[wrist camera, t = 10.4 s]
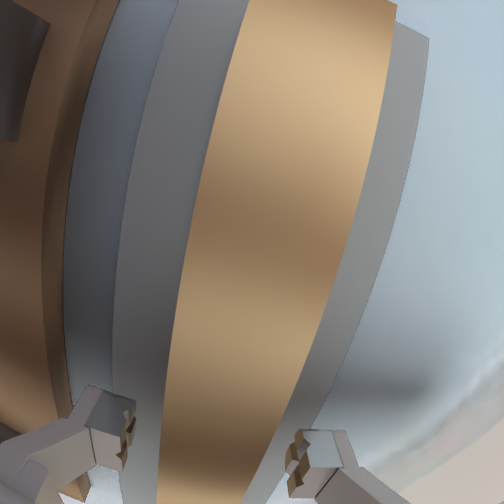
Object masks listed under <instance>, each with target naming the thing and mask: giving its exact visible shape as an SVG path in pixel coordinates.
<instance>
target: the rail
mask: <svg viewBox="0 0 504 504" xmlns="http://www.w3.org/2000/svg"><path fill="white" fill-rule="evenodd" d="M396 8H397V5H396V4H394V3H392V2H390V1H387V0H249V3H248V6H247V9H246V12H245V16H244V19H243V22H242V25H241V28H240V31H239V35H238V38H237V41H236V44H235V48H234V51H233V55H232V58H231V61H230V65H229V68H228V72H227V75H226V79H225V83H224V86H223V90H222V94H221V97H220V101H219V105H218V109H217V113H216V117H215V120H214V124H213V128H212V132H211V137H210V141H209V145H208V149H207V153H206V157H205V162H204V166H203V171H202V175H201V179H200V184H199V189H198V193H197V198H196V203H195V207H194V212H193V217H192V222H191V227H190V232H189V238H188V243H187V248H186V254H185V259H184V265H183V270H182V276H181V282H180V288H179V294H178V300H177V306H176V313H175V319H174V326H173V333H172V340H171V347H170V355H169V362H168V370H167V378H166V387H165V396H164V405H163V415H162V425H161V436H160V449H159V462H158V477H157V496H156V504H240V503H241V501H242V499H243V497H244V495H245V493H246V491H247V489H248V487H249V485H250V483H251V481H252V480H253V478H254V476H255V474H256V472H257V470H258V468H259V466H260V463H261V461H262V459H263V457H264V455H265V453H266V451H267V449H268V447H269V445H270V443H271V440H272V438H273V436H274V434H275V432H276V430H277V427H278V425H279V423H280V421H281V418H282V416H283V414H284V412H285V409H286V407H287V405H288V402H289V400H290V398H291V395H292V393H293V390H294V388H295V386H296V383H297V381H298V378H299V376H300V373H301V371H302V368H303V366H304V363H305V361H306V358H307V356H308V353H309V351H310V348H311V345H312V343H313V340H314V337H315V335H316V332H317V329H318V327H319V324H320V321H321V318H322V316H323V313H324V310H325V307H326V304H327V301H328V298H329V296H330V293H331V290H332V287H333V284H334V281H335V278H336V275H337V272H338V268H339V265H340V262H341V259H342V256H343V253H344V249H345V246H346V243H347V240H348V236H349V233H350V229H351V226H352V223H353V219H354V216H355V212H356V208H357V205H358V201H359V198H360V194H361V190H362V186H363V182H364V179H365V175H366V171H367V167H368V163H369V158H370V154H371V150H372V146H373V141H374V137H375V132H376V128H377V123H378V119H379V114H380V109H381V104H382V99H383V94H384V88H385V83H386V77H387V71H388V66H389V59H390V53H391V47H392V40H393V33H394V25H395V17H396Z"/></svg>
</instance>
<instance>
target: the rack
mask: <svg viewBox="0 0 504 504" xmlns="http://www.w3.org/2000/svg"><path fill="white" fill-rule="evenodd" d="M119 1H120V0H0V444H1V443H2V442H3V441H6V440H9V439H11V438H14V437H16V436H19V435H22V434H24V433H27V432H29V431H32V430H34V429H37V428H39V427H42V426H44V425H47V424H49V423H51V422H54V421H56V420H59V419H61V418H65V419H68V417H69V415H70V413H71V412H72V410H73V409H72V403H71V396H70V389H69V382H68V374H67V365H66V355H65V343H64V327H63V299H62V275H63V246H64V230H65V218H66V208H67V199H68V190H69V183H70V176H71V169H72V163H73V157H74V151H75V146H76V141H77V136H78V131H79V126H80V122H81V117H82V113H83V109H84V105H85V101H86V97H87V93H88V89H89V86H90V82H91V79H92V75H93V72H94V69H95V66H96V62H97V59H98V56H99V53H100V50H101V47H102V44H103V42H104V39H105V36H106V33H107V31H108V28H109V25H110V23H111V20H112V18H113V15H114V13H115V10H116V8H117V6H118V3H119ZM90 487H91V486H90V483H89V479H88V476H87V472H85V473H83V474H82V475H80V476H79V477H77V478H76V479H74V480H73V481H71V482H70V483H68V484H67V485H65V486H64V487H62V488H61V489H59V490H57V491H58V492H60V493H62V494H64V495H67V496H69V497H71V498H74V499H76V500H79V501H81V502H84V503H85V500H86V498H87V495H88V492H89V489H90Z"/></svg>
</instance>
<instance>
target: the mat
mask: <svg viewBox="0 0 504 504" xmlns="http://www.w3.org/2000/svg"><path fill="white" fill-rule="evenodd" d="M248 3H249V0H179V2H178V4H177V7H176V9H175V12H174V15H173V17H172V20H171V23H170V25H169V28H168V31H167V34H166V37H165V40H164V43H163V46H162V49H161V52H160V55H159V58H158V61H157V64H156V67H155V71H154V74H153V78H152V81H151V84H150V88H149V92H148V95H147V99H146V103H145V107H144V111H143V115H142V119H141V123H140V127H139V131H138V136H137V140H136V145H135V149H134V154H133V159H132V164H131V169H130V174H129V180H128V186H127V191H126V197H125V204H124V210H123V217H122V224H121V232H120V240H119V249H118V258H117V268H116V279H115V292H114V309H113V332H112V393H115V394H118V395H121V396H124V397H127V398H130V399H133V400H136V411H135V414H134V416H135V417H136V429H135V434H134V439H133V442H132V445H131V446H129V447H128V457H127V460H126V463H125V466H124V469H123V472H122V471H118V472H119V479H120V486H121V493H122V500H123V504H156V496H157V477H158V462H159V449H160V436H161V425H162V415H163V405H164V396H165V387H166V378H167V370H168V362H169V355H170V347H171V340H172V333H173V326H174V319H175V313H176V306H177V300H178V294H179V288H180V282H181V276H182V270H183V265H184V259H185V254H186V248H187V243H188V238H189V232H190V227H191V222H192V217H193V212H194V207H195V203H196V198H197V193H198V189H199V184H200V179H201V175H202V171H203V166H204V162H205V157H206V153H207V149H208V145H209V141H210V137H211V132H212V128H213V124H214V120H215V117H216V113H217V109H218V105H219V101H220V97H221V94H222V90H223V86H224V83H225V79H226V75H227V72H228V68H229V65H230V61H231V58H232V55H233V51H234V48H235V44H236V41H237V38H238V35H239V31H240V28H241V25H242V22H243V19H244V16H245V12H246V9H247V6H248ZM428 50H429V38H428V37H426V36H424V35H422V34H420V33H418V32H416V31H414V30H412V29H410V28H408V27H406V26H404V25H402V24H400V23H398V22H396V21H395V25H394V33H393V40H392V47H391V53H390V59H389V66H388V71H387V77H386V83H385V88H384V94H383V99H382V104H381V109H380V114H379V119H378V123H377V128H376V132H375V137H374V141H373V146H372V150H371V154H370V158H369V163H368V167H367V171H366V175H365V179H364V182H363V186H362V190H361V194H360V198H359V201H358V205H357V208H356V212H355V216H354V219H353V223H352V226H351V229H350V233H349V236H348V240H347V243H346V246H345V249H344V253H343V256H342V259H341V262H340V265H339V268H338V272H337V275H336V278H335V281H334V284H333V287H332V290H331V293H330V296H329V298H328V301H327V304H326V307H325V310H324V313H323V316H322V318H321V321H320V324H319V327H318V329H317V332H316V335H315V337H314V340H313V343H312V345H311V348H310V351H309V353H308V356H307V358H306V361H305V363H304V366H303V368H302V371H301V373H300V376H299V378H298V381H297V383H296V386H295V388H294V390H293V393H292V395H291V398H290V400H289V402H288V405H287V407H286V409H285V412H284V414H283V416H282V418H281V421H280V423H279V425H278V427H277V430H276V432H275V434H274V436H273V438H272V440H271V443H270V445H269V447H268V449H267V451H266V453H265V455H264V457H263V459H262V461H261V463H260V466H259V468H258V470H257V472H256V474H255V476H254V478H253V480H252V481H251V483H250V485H249V487H248V489H247V491H246V493H245V495H244V497H243V499H242V501H241V503H240V504H265V503H266V502H267V500H268V499H269V497H270V496H271V494H272V493H273V491H274V490H275V488H276V486H277V485H278V483H279V482H280V480H281V478H282V477H283V475H284V473H285V472H286V471H285V455H286V451H287V449H288V447H289V445H290V444H292V443H293V442H295V439H294V435H295V433H296V431H297V430H298V429H310V428H311V426H312V424H313V422H314V420H315V418H316V416H317V414H318V412H319V410H320V408H321V407H322V405H323V403H324V401H325V398H326V396H327V394H328V392H329V390H330V388H331V386H332V384H333V382H334V380H335V378H336V375H337V373H338V371H339V369H340V367H341V365H342V362H343V360H344V358H345V356H346V353H347V351H348V349H349V346H350V344H351V342H352V339H353V337H354V334H355V332H356V330H357V327H358V325H359V322H360V320H361V317H362V315H363V312H364V309H365V307H366V304H367V302H368V299H369V296H370V294H371V291H372V288H373V285H374V282H375V280H376V277H377V274H378V271H379V268H380V265H381V262H382V259H383V256H384V253H385V250H386V247H387V244H388V241H389V237H390V234H391V231H392V228H393V224H394V221H395V217H396V214H397V210H398V207H399V203H400V199H401V196H402V192H403V188H404V184H405V180H406V176H407V172H408V168H409V163H410V159H411V154H412V150H413V145H414V140H415V136H416V130H417V125H418V120H419V114H420V109H421V103H422V96H423V90H424V83H425V76H426V68H427V59H428Z"/></svg>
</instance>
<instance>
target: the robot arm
mask: <svg viewBox="0 0 504 504" xmlns="http://www.w3.org/2000/svg"><path fill="white" fill-rule="evenodd" d="M135 411H136V400H133V399H130V398H127V397H124V396H121V395H118V394H115V393H112V392H109V391H106V390H102V389H99V388H97V387H94V386H91V385H89V386H87V387H86V388H85V390H84V392H83V393H82V395H81V396H80V398H79V400H78V401H77V403H76V405H75V407H74V408H73V410H72V412H71V413H70V415H69V417H68V419H65V418H61V419H59V420H56V421H54V422H51V423H49V424H47V425H44V426H42V427H39V428H37V429H34V430H32V431H29V432H27V433H24V434H22V435H19V436H16V437H14V438H11V439H9V440H6V441H3V442H2V443H1V444H0V504H64V503H63V501H62V499H61V497H60V495H59V493H58V491H57V490H59V489H61V488H62V487H64V486H65V485H67V484H68V483H70V482H71V481H73V480H74V479H76V478H77V477H79V476H80V475H82V474H83V473H85V472H86V471H88V470H89V469H91V468H92V467H94V466H95V465H96V464H98V465H102V466H105V467H108V468H111V469H115V470H118V471H122V472H123V469H124V466H125V463H126V460H127V457H128V447H129V446H131V445H132V442H133V439H134V434H135V429H136V417H135V416H134V414H135ZM294 439H295V442H293V443H292V444H290V445H289V447H288V449H287V451H286V455H285V471H286V472H287V473H288V474H289V475H290V477H289V479H288V481H287V486H288V493H289V498H315V500H316V502H317V503H318V504H411V503H409V502H408V501H407V500H405V499H404V498H402V497H401V496H400V495H399V494H397V493H396V492H395V491H393V490H392V489H391V488H389V487H388V486H387V485H385V484H384V483H383V482H381V481H380V480H379V479H378V478H376V477H375V476H374V475H372V474H371V473H370V472H369V471H367V470H366V469H365V468H364V467H359V465H358V463H357V460H356V457H355V454H354V452H353V449H352V446H351V443H350V441H349V438H348V435H347V432H345V431H344V430H317V429H298V430H297V431H296V433H295V435H294ZM499 504H504V501H503V502H501V503H499Z"/></svg>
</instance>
